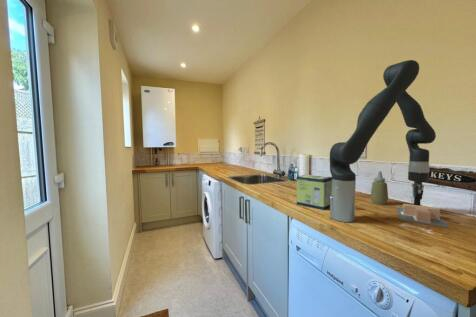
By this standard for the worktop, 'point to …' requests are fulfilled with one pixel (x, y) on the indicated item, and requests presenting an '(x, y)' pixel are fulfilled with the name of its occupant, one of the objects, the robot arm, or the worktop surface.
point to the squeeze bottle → (379, 190)
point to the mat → (413, 219)
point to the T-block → (421, 212)
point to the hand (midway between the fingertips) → (416, 206)
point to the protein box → (314, 191)
